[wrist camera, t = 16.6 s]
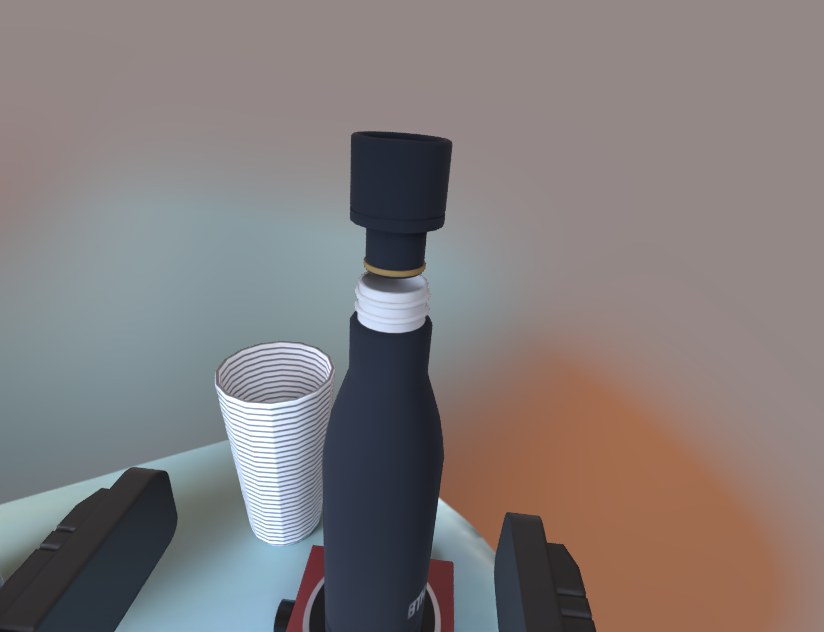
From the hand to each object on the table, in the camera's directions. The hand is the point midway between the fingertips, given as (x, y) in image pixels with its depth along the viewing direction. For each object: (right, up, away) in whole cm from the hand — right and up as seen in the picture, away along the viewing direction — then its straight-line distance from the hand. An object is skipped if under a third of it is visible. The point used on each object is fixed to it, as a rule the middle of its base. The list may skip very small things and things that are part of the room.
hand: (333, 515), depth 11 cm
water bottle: (-1, -16, +19) cm, 25 cm away
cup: (-9, -13, +29) cm, 34 cm away
